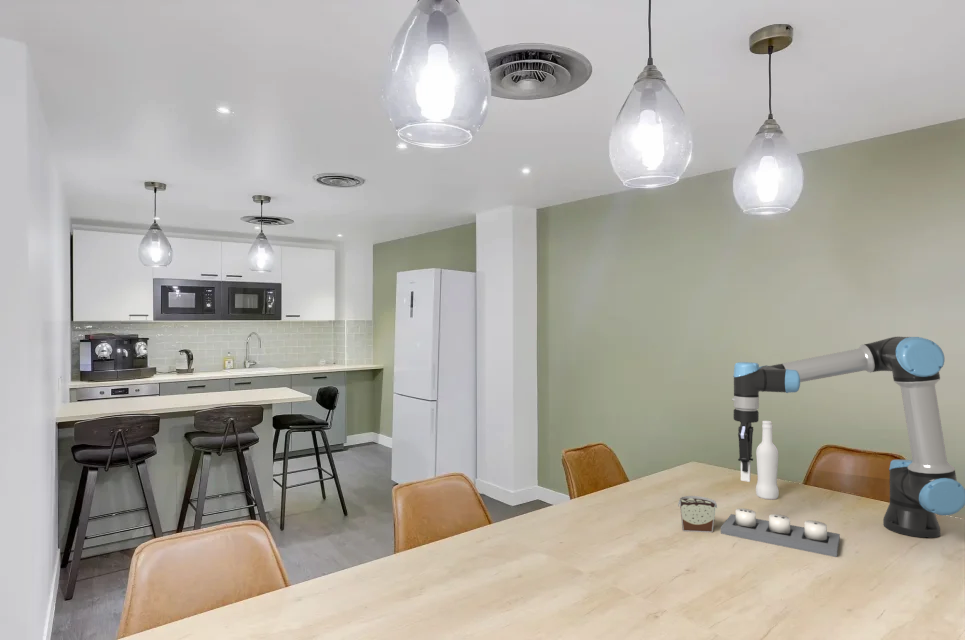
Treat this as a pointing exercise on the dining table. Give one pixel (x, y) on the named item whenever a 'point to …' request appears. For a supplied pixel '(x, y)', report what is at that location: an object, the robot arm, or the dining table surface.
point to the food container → (697, 513)
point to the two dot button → (779, 523)
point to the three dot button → (745, 517)
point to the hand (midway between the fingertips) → (745, 480)
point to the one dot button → (815, 530)
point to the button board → (782, 536)
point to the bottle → (767, 464)
